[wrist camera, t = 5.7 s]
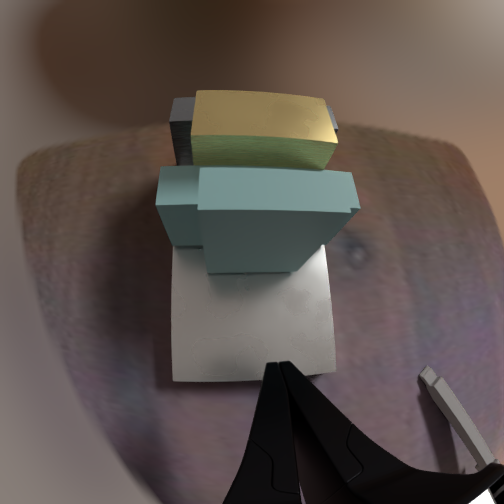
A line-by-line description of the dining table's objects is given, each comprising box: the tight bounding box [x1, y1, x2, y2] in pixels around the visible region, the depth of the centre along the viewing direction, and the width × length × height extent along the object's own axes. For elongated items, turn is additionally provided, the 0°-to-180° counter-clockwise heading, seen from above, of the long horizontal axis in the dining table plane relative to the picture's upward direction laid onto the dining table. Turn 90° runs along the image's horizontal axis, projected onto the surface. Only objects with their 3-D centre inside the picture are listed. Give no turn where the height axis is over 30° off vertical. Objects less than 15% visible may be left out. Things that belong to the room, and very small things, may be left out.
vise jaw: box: [156, 165, 360, 273], centre depth 13 cm, size 4×9×7 cm, turn 93°
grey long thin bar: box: [419, 366, 500, 471], centre depth 11 cm, size 20×1×6 cm, turn 35°
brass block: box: [191, 90, 338, 170], centre depth 14 cm, size 3×6×7 cm, turn 93°
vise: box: [169, 97, 338, 382], centre depth 14 cm, size 15×9×6 cm, turn 3°
